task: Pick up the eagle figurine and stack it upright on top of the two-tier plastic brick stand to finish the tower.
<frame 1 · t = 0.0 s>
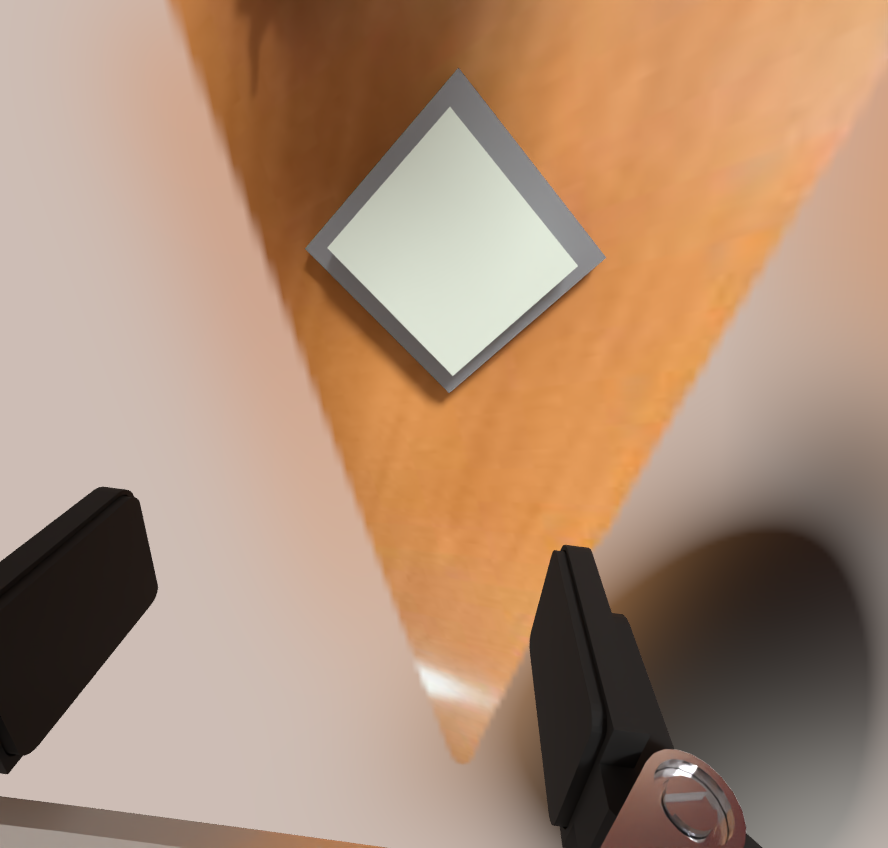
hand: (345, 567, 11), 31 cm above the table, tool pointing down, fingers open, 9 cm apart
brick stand: (454, 249, 38), on the table
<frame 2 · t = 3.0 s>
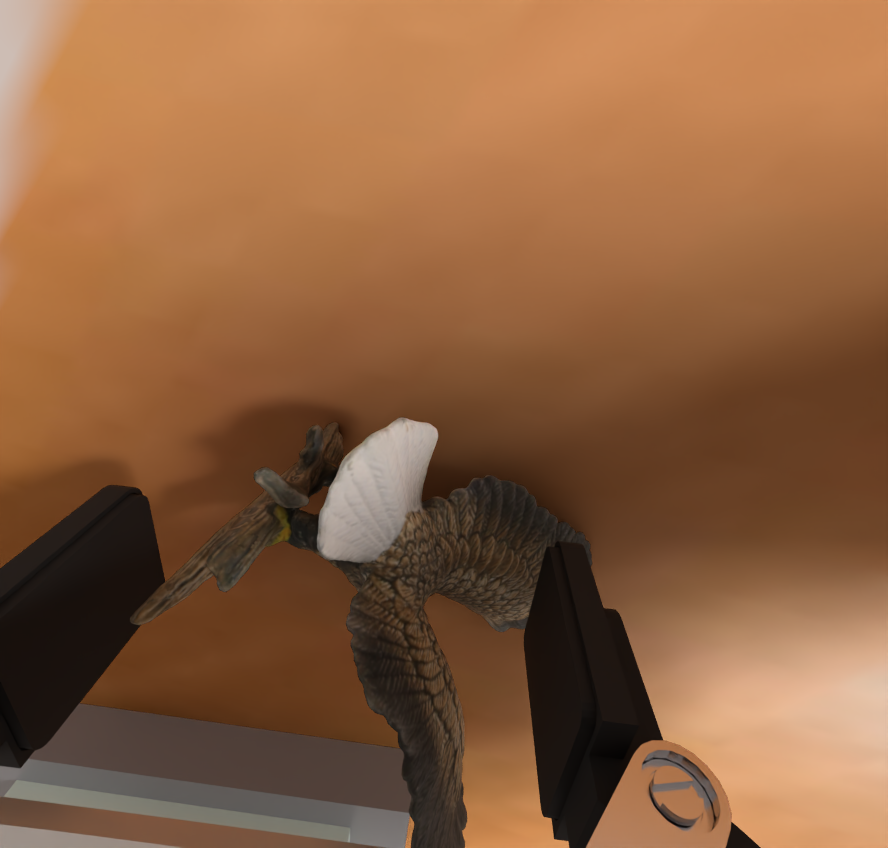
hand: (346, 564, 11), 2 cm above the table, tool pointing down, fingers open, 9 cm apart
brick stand: (232, 816, 22), on the table
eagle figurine: (433, 523, 13), on the table, touching gripper
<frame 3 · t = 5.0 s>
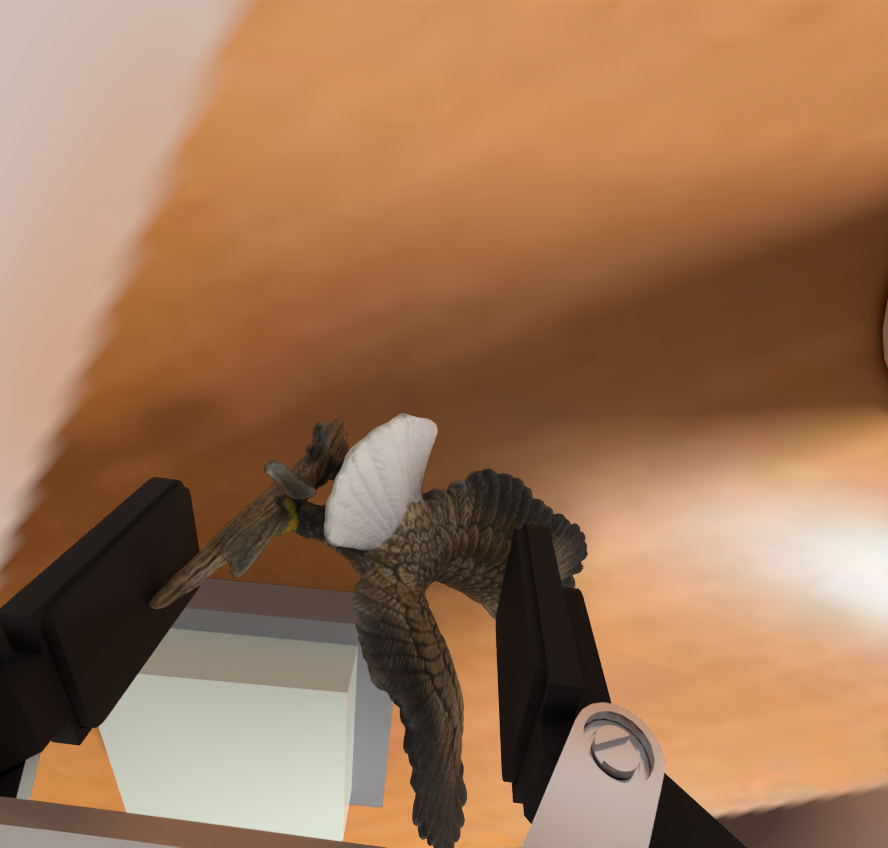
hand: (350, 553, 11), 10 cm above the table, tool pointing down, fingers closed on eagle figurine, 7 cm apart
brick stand: (263, 675, 28), on the table
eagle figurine: (434, 516, 14), point 7 cm above the table, touching gripper
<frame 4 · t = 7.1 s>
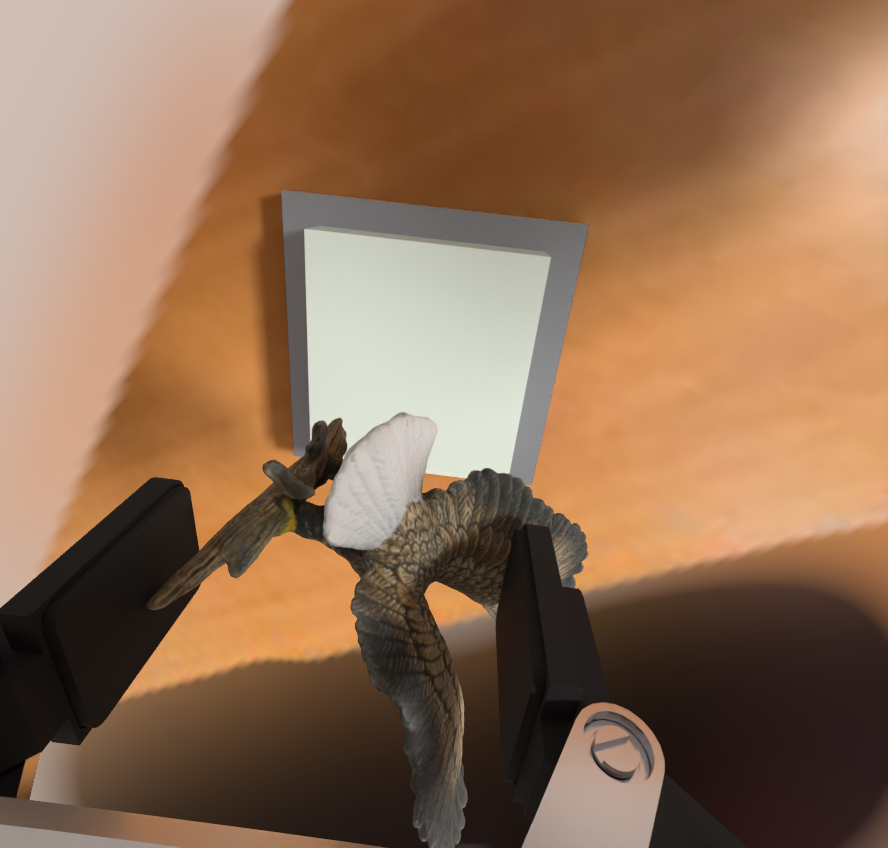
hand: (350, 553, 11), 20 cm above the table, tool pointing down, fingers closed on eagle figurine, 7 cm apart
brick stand: (426, 343, 30), on the table
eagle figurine: (434, 515, 14), point 17 cm above the table, touching gripper
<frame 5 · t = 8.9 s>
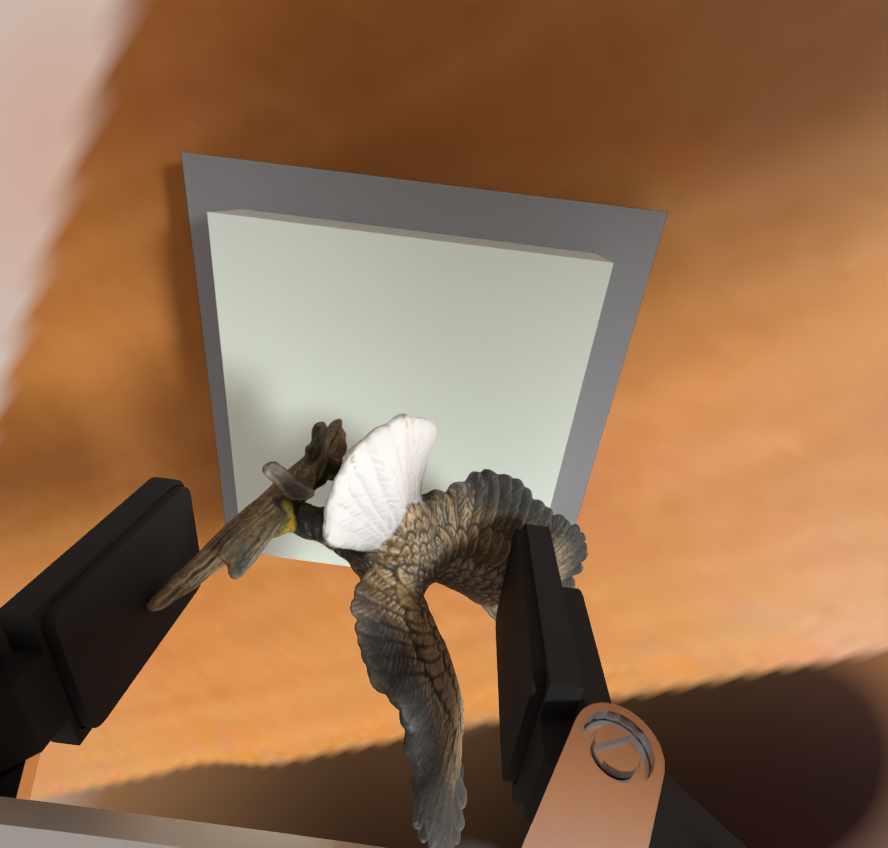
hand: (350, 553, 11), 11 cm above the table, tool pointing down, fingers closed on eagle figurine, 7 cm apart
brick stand: (412, 382, 21), on the table
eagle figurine: (434, 516, 14), point 8 cm above the table, touching gripper
when the fingers open (8 cm above the table, at t = 10.5 s): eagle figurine drops 1 cm, resting on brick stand.
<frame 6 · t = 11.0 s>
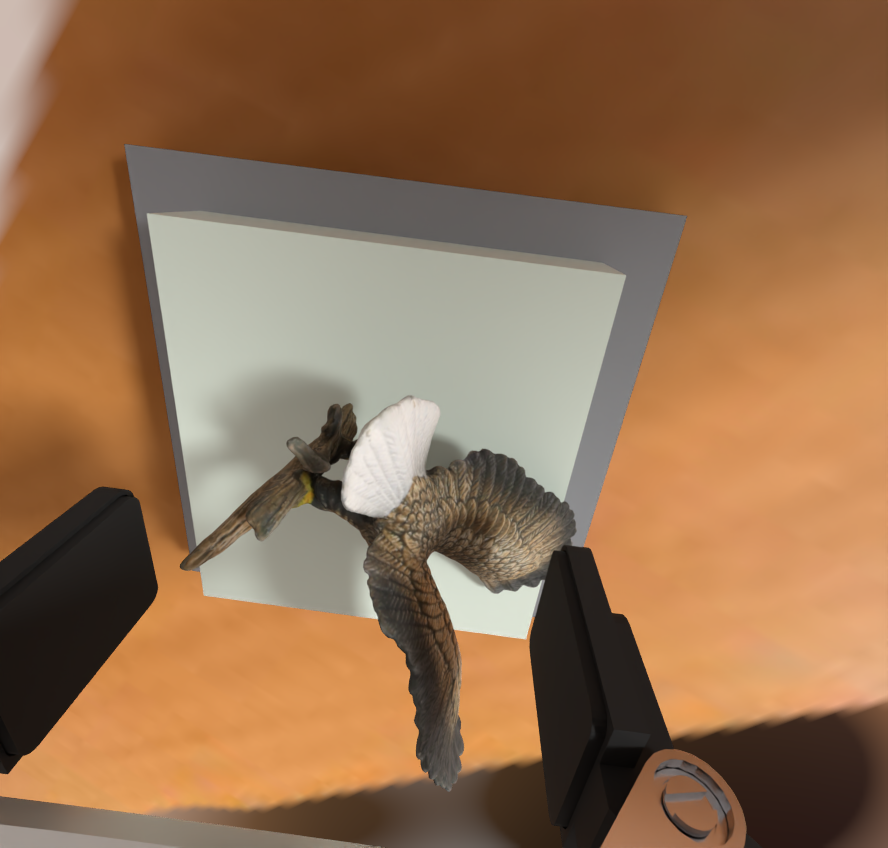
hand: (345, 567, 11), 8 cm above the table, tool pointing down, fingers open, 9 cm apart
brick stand: (397, 403, 19), on the table, touching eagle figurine
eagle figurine: (435, 495, 15), point 4 cm above the table, touching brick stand
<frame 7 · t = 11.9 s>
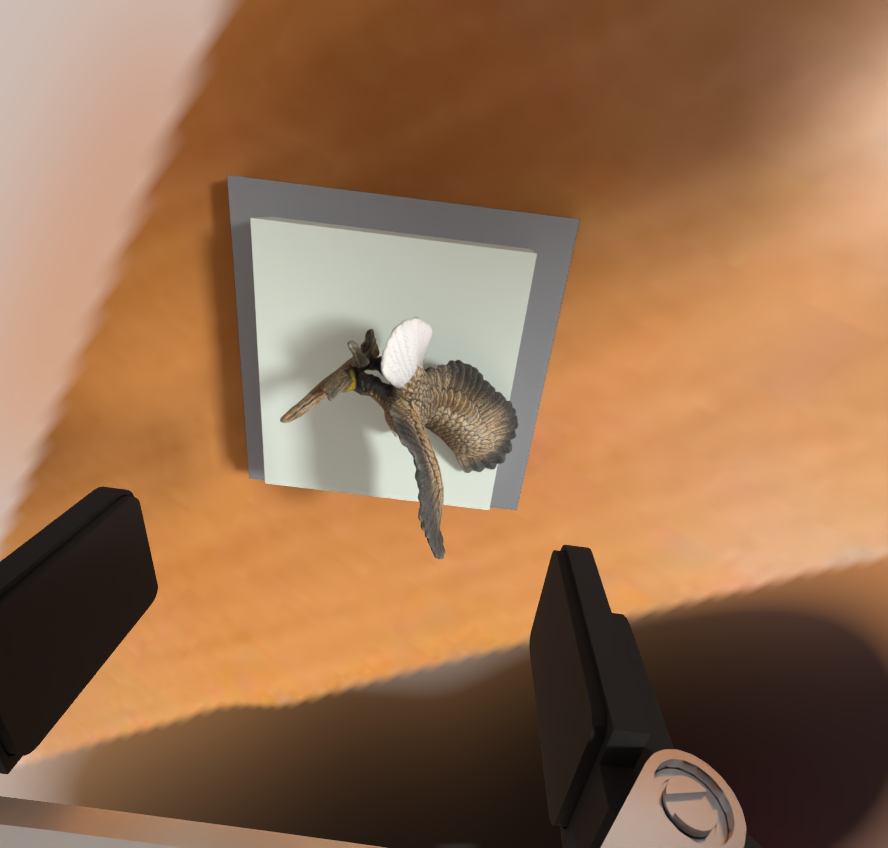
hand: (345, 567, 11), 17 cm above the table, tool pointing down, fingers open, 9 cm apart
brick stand: (398, 352, 27), on the table
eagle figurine: (427, 403, 23), point 4 cm above the table
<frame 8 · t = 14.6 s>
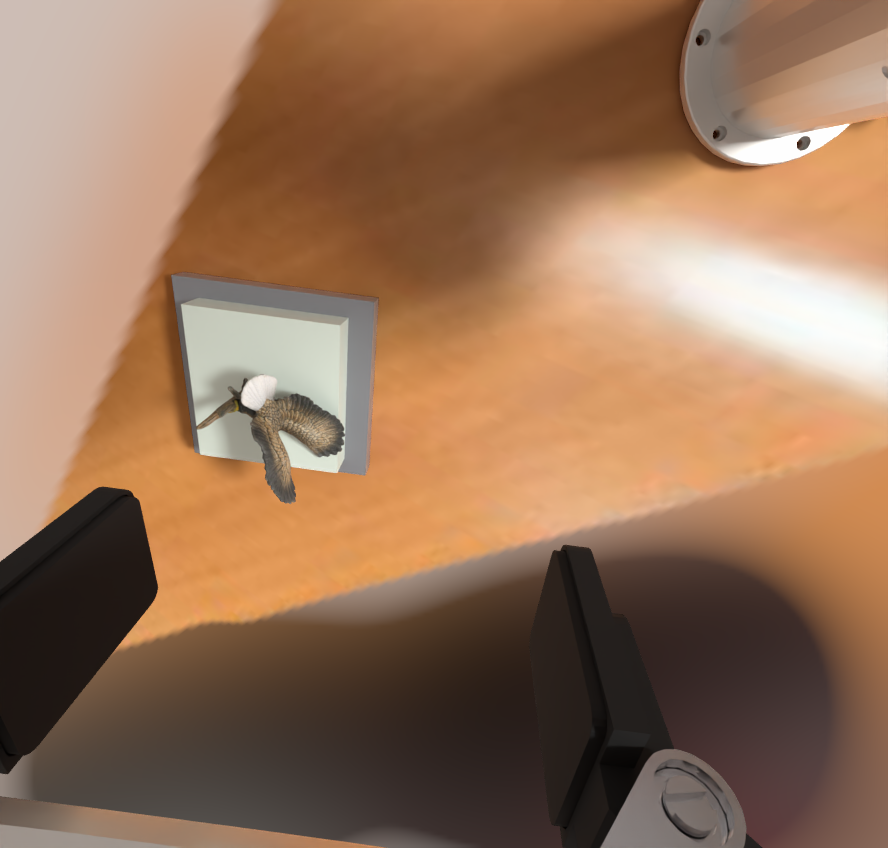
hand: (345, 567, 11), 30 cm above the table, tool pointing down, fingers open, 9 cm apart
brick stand: (287, 373, 42), on the table, touching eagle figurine
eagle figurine: (292, 416, 39), point 4 cm above the table, touching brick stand
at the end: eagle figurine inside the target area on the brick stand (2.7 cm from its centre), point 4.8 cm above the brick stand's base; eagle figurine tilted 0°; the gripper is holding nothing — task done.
